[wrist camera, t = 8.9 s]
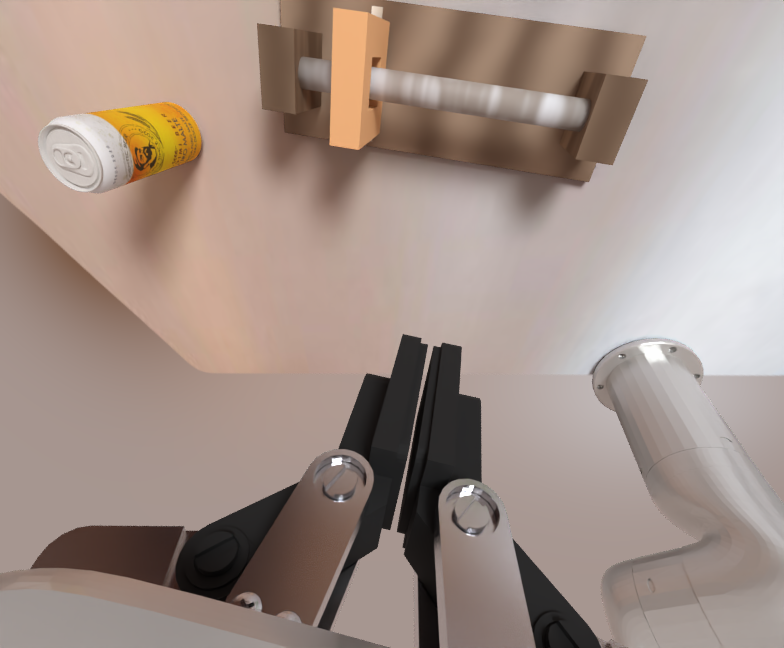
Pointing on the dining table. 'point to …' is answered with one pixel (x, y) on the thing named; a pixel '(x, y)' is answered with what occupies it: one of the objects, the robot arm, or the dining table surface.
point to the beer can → (118, 145)
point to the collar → (355, 76)
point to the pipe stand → (465, 85)
